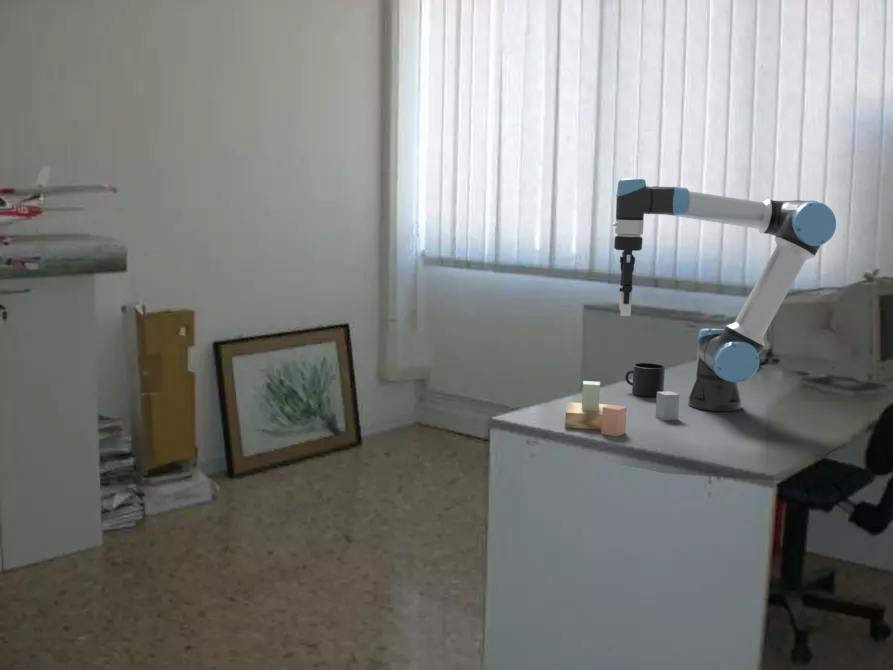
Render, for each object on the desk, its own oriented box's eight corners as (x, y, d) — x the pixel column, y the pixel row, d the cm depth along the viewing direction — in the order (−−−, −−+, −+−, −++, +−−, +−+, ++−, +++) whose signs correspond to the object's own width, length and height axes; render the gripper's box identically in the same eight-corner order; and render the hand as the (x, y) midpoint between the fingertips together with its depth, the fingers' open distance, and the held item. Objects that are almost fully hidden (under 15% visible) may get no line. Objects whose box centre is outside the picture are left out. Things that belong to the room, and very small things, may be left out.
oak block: (614, 419, 282) (614, 404, 281) (614, 430, 269) (615, 415, 268) (566, 416, 283) (567, 402, 283) (565, 427, 271) (565, 412, 270)
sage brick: (598, 407, 277) (600, 381, 276) (598, 410, 273) (600, 385, 272) (582, 406, 278) (583, 380, 277) (581, 409, 274) (582, 384, 273)
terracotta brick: (609, 430, 269) (611, 404, 268) (625, 433, 266) (626, 407, 265) (601, 433, 265) (602, 407, 264) (616, 436, 262) (618, 409, 261)
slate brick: (669, 415, 288) (671, 391, 287) (677, 419, 283) (679, 394, 282) (655, 416, 286) (656, 391, 285) (663, 420, 282) (664, 395, 281)
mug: (629, 389, 323) (630, 361, 321) (666, 393, 317) (668, 365, 316) (620, 394, 314) (621, 365, 313) (658, 399, 309) (660, 369, 308)
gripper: (614, 232, 293) (610, 306, 296) (615, 237, 268) (611, 317, 272) (640, 233, 292) (636, 307, 295) (644, 238, 267) (640, 319, 271)
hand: (624, 312), depth 283 cm, fingers open, 13 cm apart
